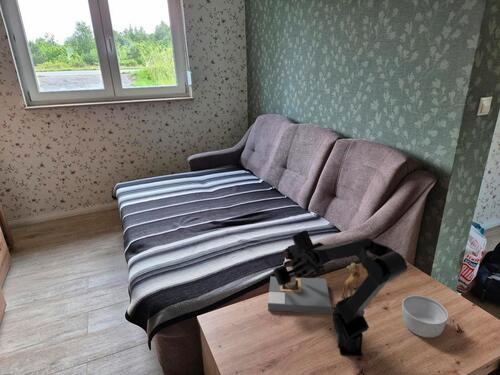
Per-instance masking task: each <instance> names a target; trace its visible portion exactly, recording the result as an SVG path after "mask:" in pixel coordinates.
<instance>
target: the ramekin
mask: <svg viewBox="0 0 500 375" xmlns="http://www.w3.org/2000/svg"><path fill="white" fill-rule="evenodd" d="M401 319H402V322H403V324H404V326H405V327H406V328H407V329H408V330H409V331H410V332H412V333H414V334H415V335H417V336H419V337H422V338H425V339H427V338H428V339H430V338H436V337H438V336H440V335H441V334H442V333H443V331H444V329H445V326H446V325H447V323H448V320H449V313H448V311H447V309H446V308H445V306H443V305H442V304H441V303H440V302H439V301H437V300H435V299H433V298H431V297H428V296H424V295H417V294H416V295H409V296H406V297H405V298H404V299H402V302H401Z"/></svg>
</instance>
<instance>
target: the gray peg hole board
mask: <svg viewBox="0 0 500 375" xmlns="http://www.w3.org/2000/svg"><path fill="white" fill-rule="evenodd" d="M284 287H285V285H282V286H280V285H279V284H278V282H277V279H276V277H275V276H270V280H269V288H268V299H267V310H268V311H273V310H278V311H277V312H291V311H293V312H295V313H310V314H311V313H312V314H313V313H314V314H327V315H328V314H329V315H330V314H331V315H332V307H331V306H332V304H331V300H330V294H329V288H328V284H327V279H326V278H314V277H300V278H298V277H296V288H297V289H296V290H287V289H285V288H284ZM293 312H292V313H293Z"/></svg>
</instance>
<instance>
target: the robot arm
mask: <svg viewBox="0 0 500 375" xmlns="http://www.w3.org/2000/svg"><path fill="white" fill-rule="evenodd" d="M291 239H292V241H293V243H294V244H292V245H288V247H285V249H283V252H282V255H283V257H284V258H285V259H286V260H289V261H290V262H289V264H290V267H292V269H293V270H290V271H287V269H286V268H287V266H286V265H280V266H277V267H274V269H273V274H274V277H276V279H277V282H278V284H279V285H280V286H282V285H285V284H287V283H290V282H291V277H294V276H296V278H303V277H304V276H307V275H309V274H311V275H312V274H315V275H316V276H318V275H320V274H323V273H326V267H325V266H326V265H327V264H329V263H332V262H335V261H336V260H339V259H344V258H349V257H355V256H356V257H357V258H358V259H359V261H360V264H361V266H362V267H363V269H365V270H366V275H367V277H365V279H364V280H363V282H362V283H361V284H360V285H359V286H358V288H356V290H355V291H354V292H353V293H352V294H353V295H349V296H347V298H346V297H344V298H343V299H341V300H338V301H337V302H336V304H335V306H333V307H331V310H332V311H331V315H332V322H333V326H334V331H335V333H336V345H337V348H338V350H339V353H340V355H342V356H354V357H363V354H364V353H363V350H362V346H363V337H364V334H363V333H365V332H366V331H368V330H369V324H368V322H367V320H366V318H365V317H364V315H365V308H366V307H367V305H369V304H370V302H371V301H372V300H373V299H374V298H375V297H376V296H377V294H378V293H379V292H380V291H381V290H382V289H383V288H384V287H385V286H386V284H388V283H390V282H391V281H393V280H395V279H397V278H399V277H400V276H402V275H403V274H404V273H406V272H407V270H408V265H407V261H406V259H405V258H404V257H403V256H402V255H401V253H399V252H397V251H395V250H394V249H392V248H391V247H389V246H387V245H384V244H381V243H379V242H375V241H374V240H372V239H371V238H369V237H365V236H364V237H360V238H358V239H355V240H352V241H349V242H345V243H342V244H337V245H334V244H333V243H332V244H331V243H329V244H327V243H326V244H324V243H322V242H320V241H319V242H317V243H313V241H312V239H311V237H310V235H309V232H308V230H307V229H305V230H302V231H301V232H299V233H296V234H293V235H292V236H291ZM368 253H370V254H372V255H374V256H376V257H375V258H374V257H373V259H372V258H371V257H370V256H369V255H368ZM291 273H293V274H291ZM289 274H291V275H289Z"/></svg>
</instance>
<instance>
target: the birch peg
mask: <svg viewBox="0 0 500 375" xmlns="http://www.w3.org/2000/svg"><path fill="white" fill-rule="evenodd" d="M292 267H293V266H286V269H287V271H290V270H293V269H292ZM291 274H293V273H291ZM291 274H289V275H291ZM296 278H297V275H296V276H294V277H291V282H290V283H287V284H285V286H284V289H287V290H297V287H296Z"/></svg>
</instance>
